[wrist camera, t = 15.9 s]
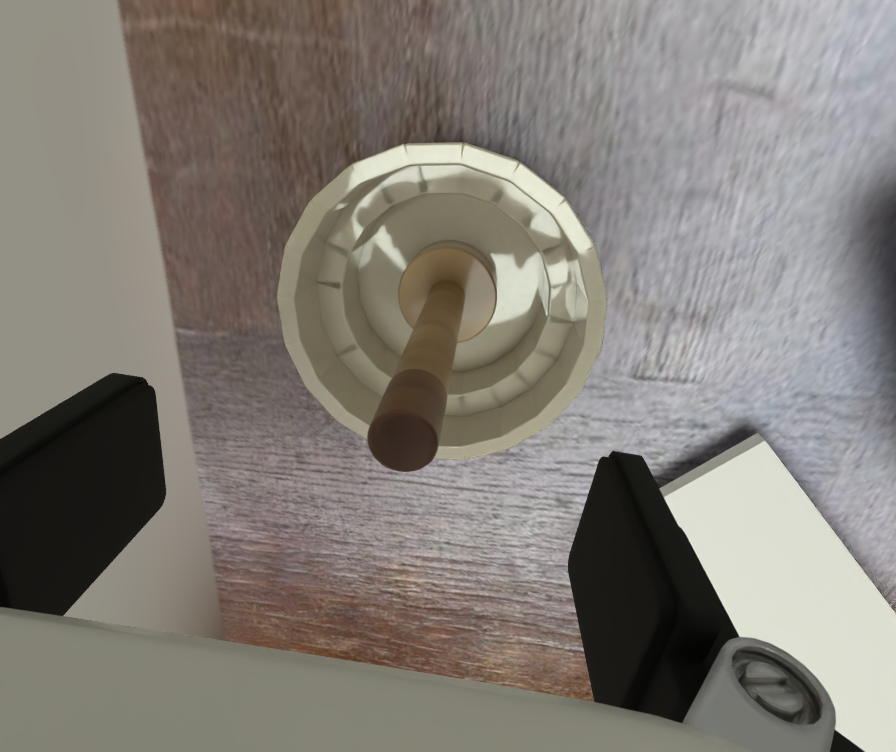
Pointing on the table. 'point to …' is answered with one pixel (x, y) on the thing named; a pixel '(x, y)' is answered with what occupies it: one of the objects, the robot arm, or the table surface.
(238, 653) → the robot arm
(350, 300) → the bowl
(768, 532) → the wall bracket
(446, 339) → the stirrer
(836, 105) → the table surface
